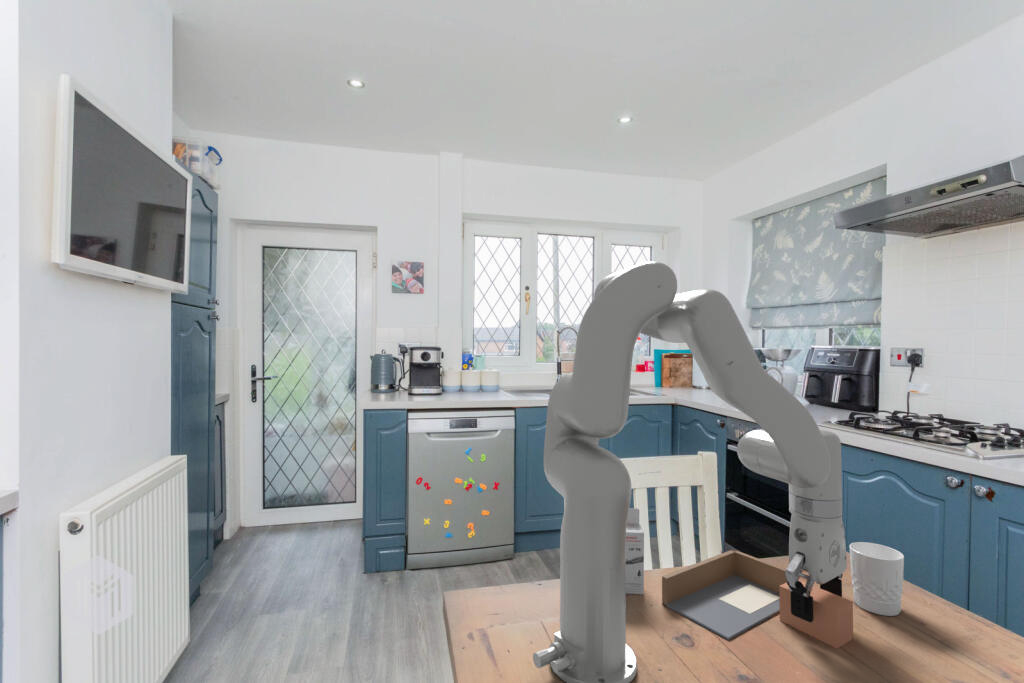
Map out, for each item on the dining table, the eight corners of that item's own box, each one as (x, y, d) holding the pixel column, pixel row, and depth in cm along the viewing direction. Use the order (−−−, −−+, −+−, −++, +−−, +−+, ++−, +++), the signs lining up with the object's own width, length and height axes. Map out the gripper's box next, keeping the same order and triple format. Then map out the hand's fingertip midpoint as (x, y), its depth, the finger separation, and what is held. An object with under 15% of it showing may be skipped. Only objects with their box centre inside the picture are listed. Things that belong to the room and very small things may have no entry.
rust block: (837, 649, 75) (836, 610, 75) (779, 621, 83) (779, 585, 83) (853, 639, 77) (852, 601, 78) (796, 613, 85) (795, 578, 85)
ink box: (598, 593, 92) (598, 514, 92) (596, 580, 97) (596, 506, 97) (644, 595, 91) (644, 516, 91) (640, 582, 96) (640, 507, 96)
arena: (728, 640, 77) (728, 608, 77) (662, 604, 88) (662, 576, 88) (799, 601, 89) (798, 573, 89) (733, 573, 100) (733, 549, 100)
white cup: (915, 613, 85) (914, 555, 85) (886, 622, 82) (885, 563, 82) (867, 592, 92) (867, 539, 93) (839, 599, 89) (839, 545, 90)
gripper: (813, 522, 73) (815, 637, 72) (863, 501, 82) (866, 603, 82) (764, 509, 79) (766, 614, 79) (816, 490, 88) (818, 585, 88)
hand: (817, 608), depth 80 cm, fingers open, 9 cm apart
